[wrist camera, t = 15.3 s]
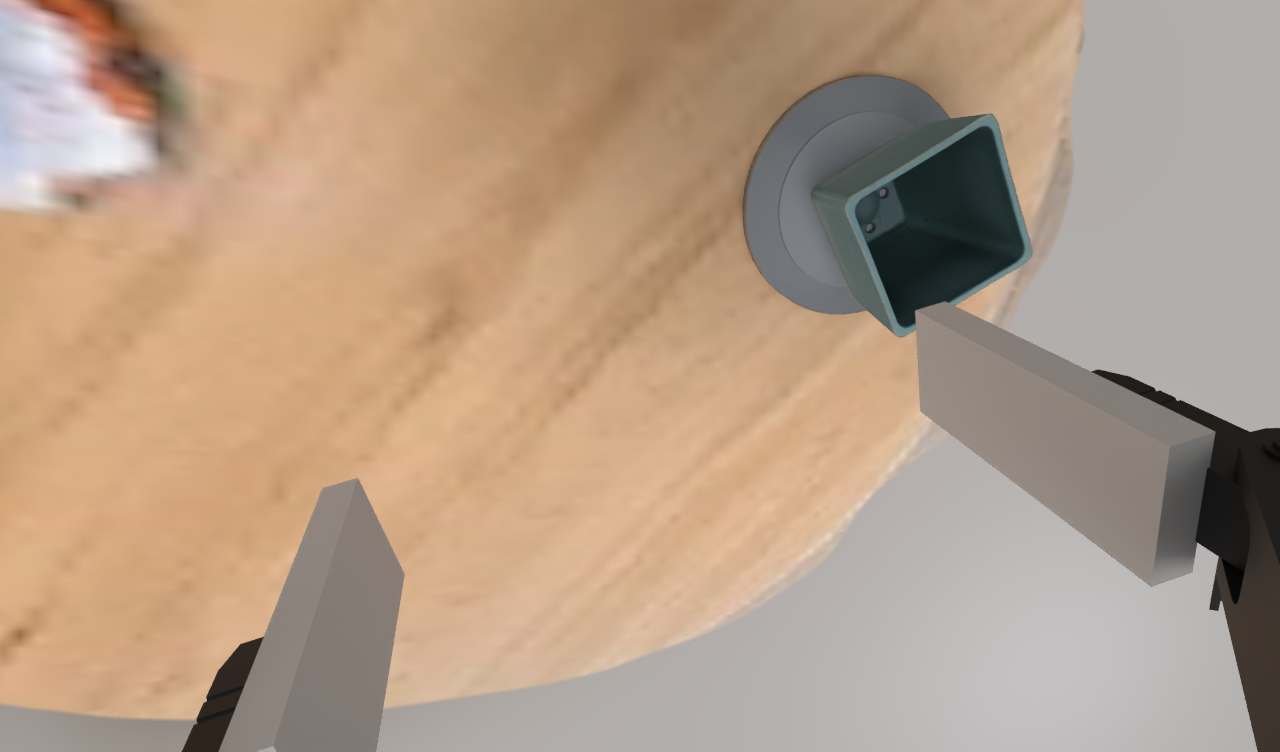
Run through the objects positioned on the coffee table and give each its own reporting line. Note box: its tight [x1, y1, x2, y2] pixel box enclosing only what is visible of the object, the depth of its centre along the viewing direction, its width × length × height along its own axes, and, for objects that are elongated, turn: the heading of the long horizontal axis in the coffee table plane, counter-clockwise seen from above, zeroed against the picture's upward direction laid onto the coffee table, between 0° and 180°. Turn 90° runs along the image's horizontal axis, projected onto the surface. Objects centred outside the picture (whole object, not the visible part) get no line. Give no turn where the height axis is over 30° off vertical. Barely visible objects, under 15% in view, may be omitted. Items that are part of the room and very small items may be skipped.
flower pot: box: [811, 114, 1032, 337], centre depth 40 cm, size 9×9×9 cm
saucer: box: [743, 76, 950, 314], centre depth 45 cm, size 15×15×1 cm
